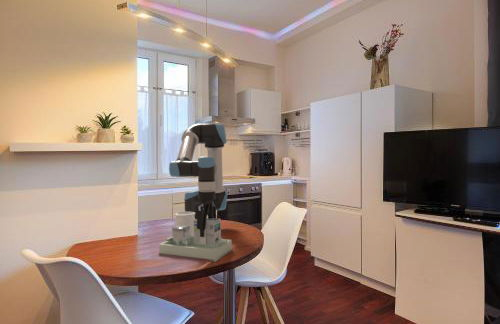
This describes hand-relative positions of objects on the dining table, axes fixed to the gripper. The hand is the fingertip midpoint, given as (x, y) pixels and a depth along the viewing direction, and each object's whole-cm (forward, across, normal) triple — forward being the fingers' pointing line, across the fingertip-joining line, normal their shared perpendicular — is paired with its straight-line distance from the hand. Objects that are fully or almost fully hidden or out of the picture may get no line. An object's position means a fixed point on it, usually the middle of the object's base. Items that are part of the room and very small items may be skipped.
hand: (207, 241), depth 140 cm
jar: (+6, -14, -21) cm, 26 cm away
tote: (+6, 0, -6) cm, 8 cm away
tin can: (+5, 0, -14) cm, 15 cm away
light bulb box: (+1, 0, 0) cm, 1 cm away
